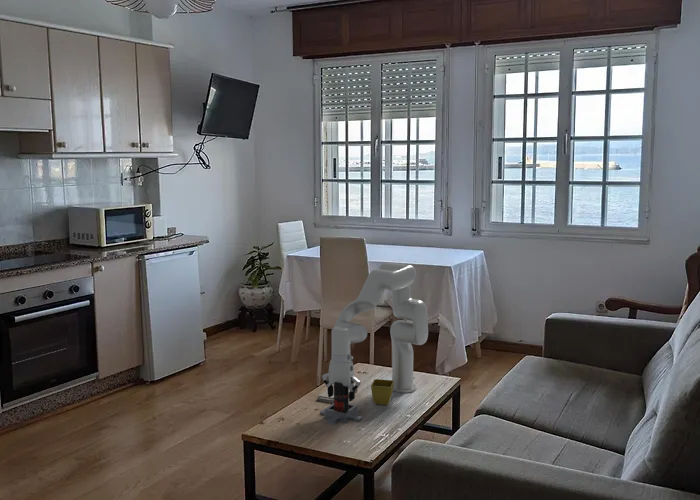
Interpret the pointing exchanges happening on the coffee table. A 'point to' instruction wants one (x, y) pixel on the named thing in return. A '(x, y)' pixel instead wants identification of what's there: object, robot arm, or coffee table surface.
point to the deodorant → (341, 397)
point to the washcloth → (325, 398)
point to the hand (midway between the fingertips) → (341, 398)
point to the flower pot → (382, 391)
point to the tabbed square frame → (341, 414)
